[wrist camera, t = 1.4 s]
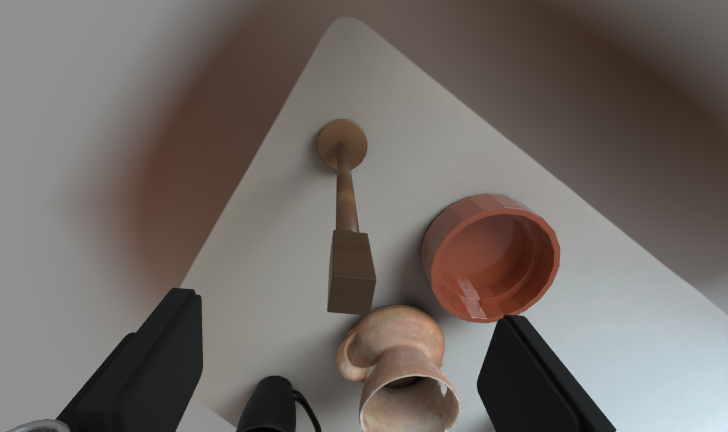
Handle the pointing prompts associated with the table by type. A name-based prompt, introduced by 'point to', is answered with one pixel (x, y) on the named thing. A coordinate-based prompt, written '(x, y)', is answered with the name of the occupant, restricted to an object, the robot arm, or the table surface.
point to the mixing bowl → (489, 258)
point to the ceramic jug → (399, 371)
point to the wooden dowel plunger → (347, 222)
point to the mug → (274, 408)
